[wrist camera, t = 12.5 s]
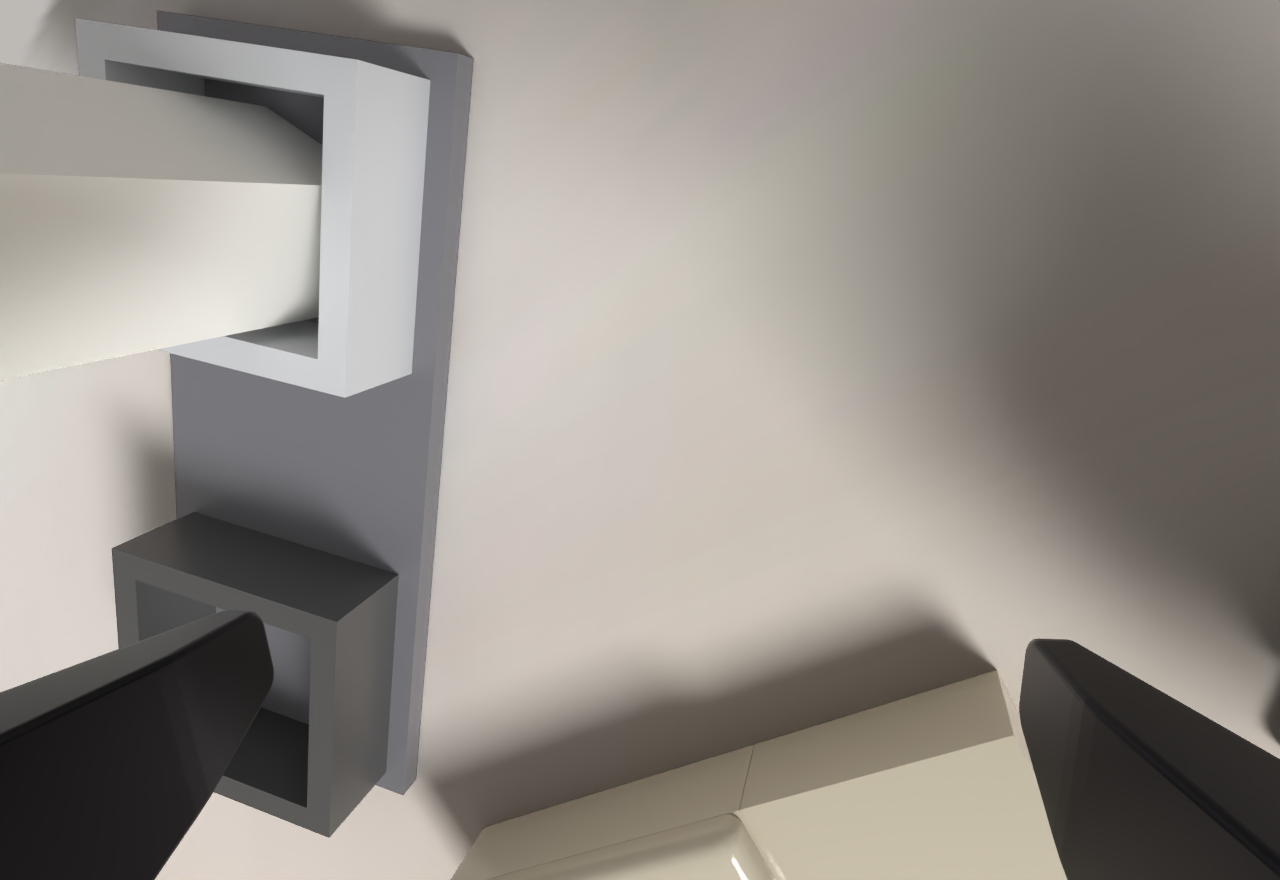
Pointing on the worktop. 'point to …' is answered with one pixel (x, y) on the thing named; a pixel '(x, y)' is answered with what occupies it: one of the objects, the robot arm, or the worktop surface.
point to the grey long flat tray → (315, 411)
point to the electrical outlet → (811, 806)
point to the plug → (146, 219)
